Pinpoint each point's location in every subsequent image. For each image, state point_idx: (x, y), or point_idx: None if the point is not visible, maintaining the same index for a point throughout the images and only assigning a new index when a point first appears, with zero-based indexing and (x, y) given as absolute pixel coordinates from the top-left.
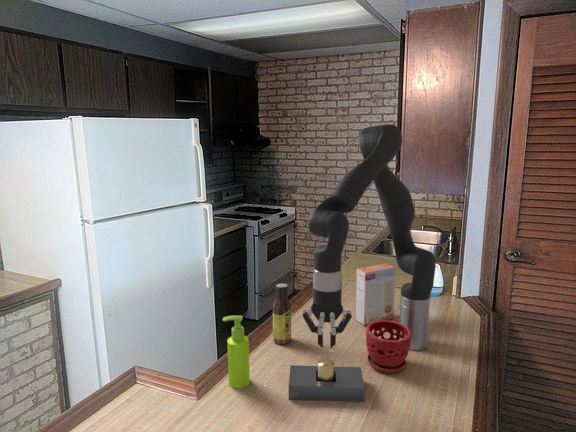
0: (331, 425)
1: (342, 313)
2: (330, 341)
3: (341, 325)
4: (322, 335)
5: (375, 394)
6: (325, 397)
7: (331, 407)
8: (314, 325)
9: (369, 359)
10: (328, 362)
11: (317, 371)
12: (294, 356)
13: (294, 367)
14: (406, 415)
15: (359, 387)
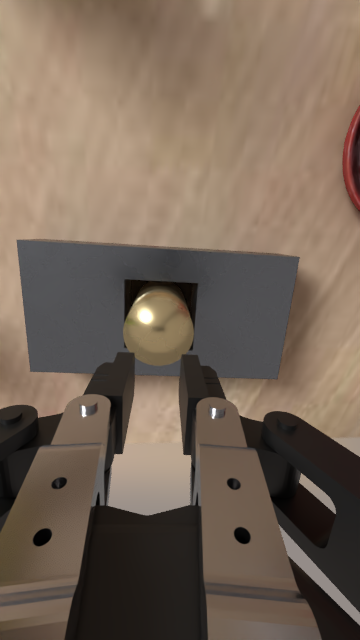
0: (163, 437)
1: None
2: (181, 406)
3: (306, 552)
4: (118, 451)
5: (301, 326)
6: None
7: (170, 380)
8: (16, 449)
9: (355, 142)
10: (169, 329)
11: (130, 278)
12: (37, 62)
13: (36, 257)
14: (345, 403)
15: (261, 376)
